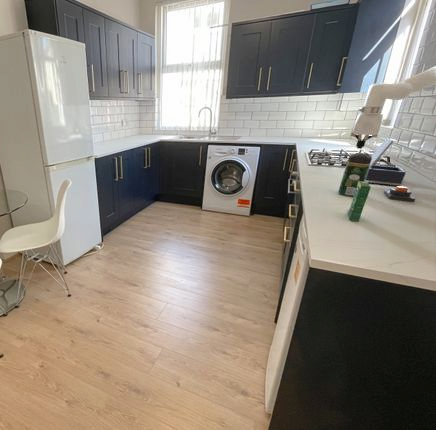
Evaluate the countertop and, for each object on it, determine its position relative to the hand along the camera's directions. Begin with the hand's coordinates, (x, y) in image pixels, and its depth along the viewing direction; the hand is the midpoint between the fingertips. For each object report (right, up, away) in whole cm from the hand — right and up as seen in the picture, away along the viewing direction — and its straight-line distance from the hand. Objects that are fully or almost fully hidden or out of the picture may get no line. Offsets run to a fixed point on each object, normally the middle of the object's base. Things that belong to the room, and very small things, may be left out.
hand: (359, 148), depth 145 cm
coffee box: (-40, -36, -42) cm, 68 cm away
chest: (+11, -18, 0) cm, 21 cm away
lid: (+7, -3, -4) cm, 9 cm away
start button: (-2, -24, -23) cm, 34 cm away
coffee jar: (-20, -25, -17) cm, 36 cm away
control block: (-2, -27, -22) cm, 35 cm away
